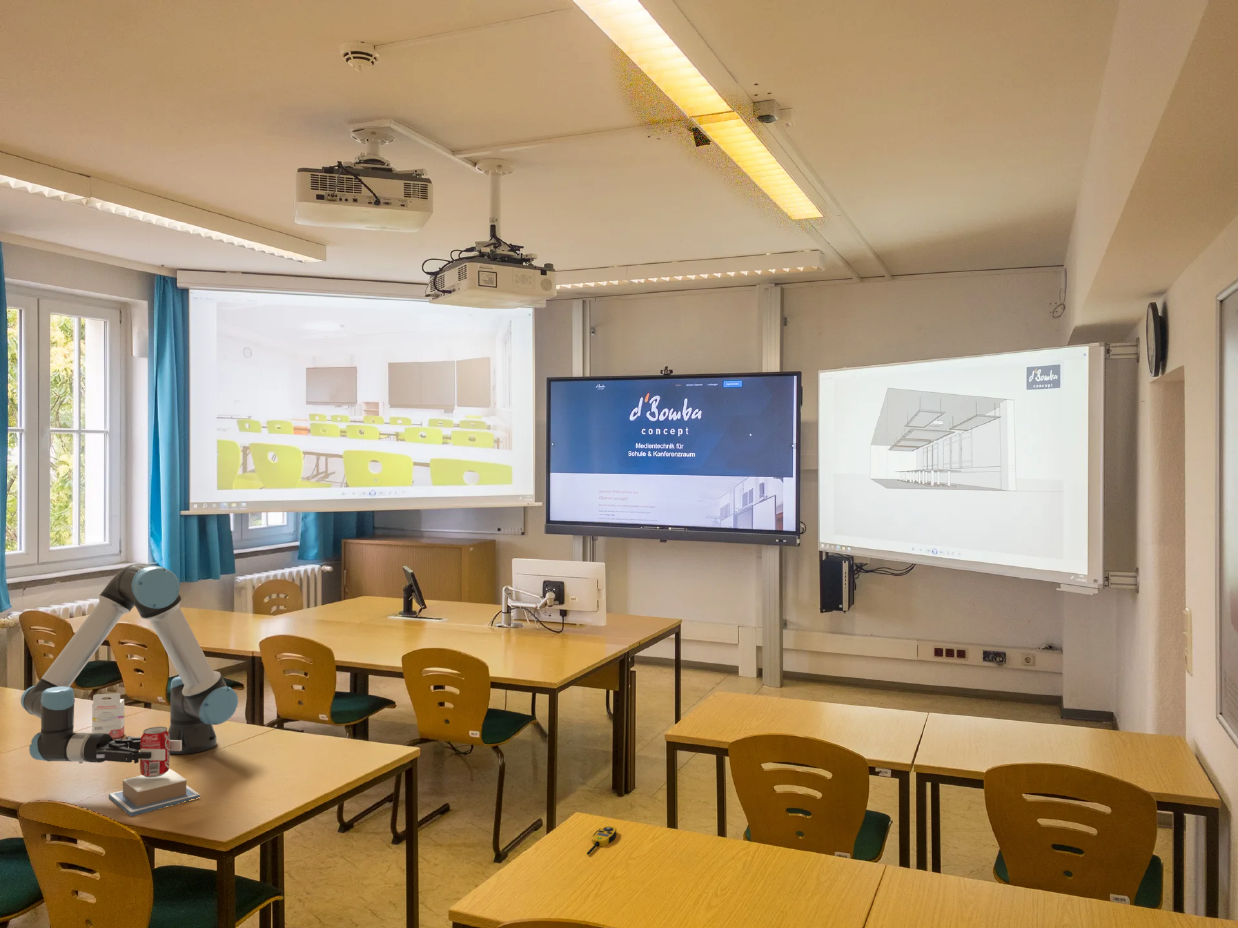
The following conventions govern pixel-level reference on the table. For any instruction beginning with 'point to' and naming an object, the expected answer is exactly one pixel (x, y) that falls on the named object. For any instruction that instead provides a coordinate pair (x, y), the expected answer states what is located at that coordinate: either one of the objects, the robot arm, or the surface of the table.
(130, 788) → the board
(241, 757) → the table surface
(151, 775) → the soda can
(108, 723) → the ink cartridge box
